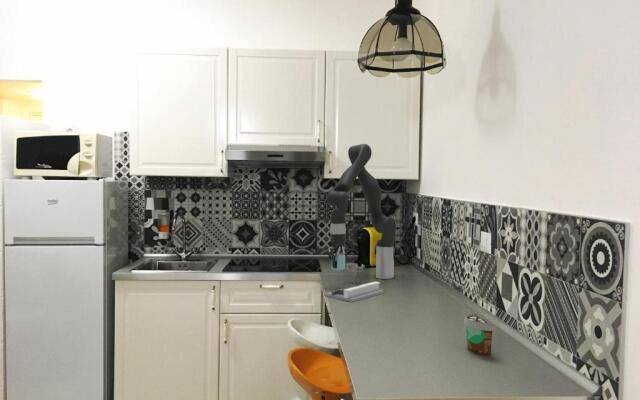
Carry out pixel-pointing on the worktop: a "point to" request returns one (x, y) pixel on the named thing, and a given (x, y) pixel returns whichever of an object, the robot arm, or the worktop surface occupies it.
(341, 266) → the block
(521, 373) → the worktop surface
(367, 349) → the worktop surface
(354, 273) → the mechanical component
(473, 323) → the food container
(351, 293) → the rail mount
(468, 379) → the worktop surface
